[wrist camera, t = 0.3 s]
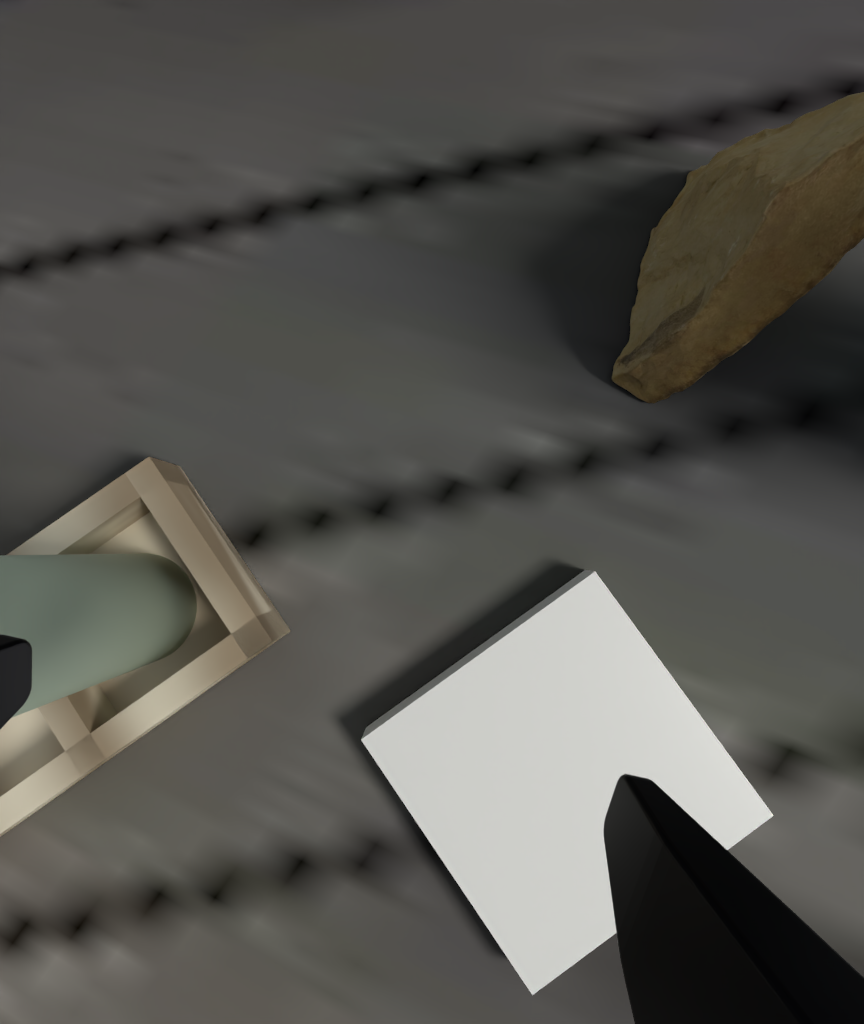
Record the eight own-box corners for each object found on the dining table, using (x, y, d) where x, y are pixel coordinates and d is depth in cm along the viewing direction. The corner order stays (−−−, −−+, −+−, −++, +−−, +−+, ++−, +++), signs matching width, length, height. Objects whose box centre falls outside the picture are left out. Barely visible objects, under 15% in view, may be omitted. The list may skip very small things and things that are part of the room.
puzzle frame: (-35, 861, 22) (-94, 900, 20) (-139, 686, 23) (-209, 703, 21) (290, 631, 23) (272, 641, 20) (179, 466, 24) (148, 456, 21)
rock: (690, 463, 21) (915, 315, 20) (672, 293, 14) (1003, 59, 13) (552, 345, 28) (712, 231, 27) (499, 196, 22) (705, 38, 20)
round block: (126, 685, 22) (-405, 914, 8) (69, 594, 23) (-534, 667, 9) (217, 620, 22) (-155, 740, 8) (158, 532, 23) (-293, 504, 9)
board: (526, 964, 22) (532, 994, 20) (366, 727, 22) (360, 739, 21) (750, 797, 22) (773, 815, 20) (584, 570, 23) (595, 571, 21)
